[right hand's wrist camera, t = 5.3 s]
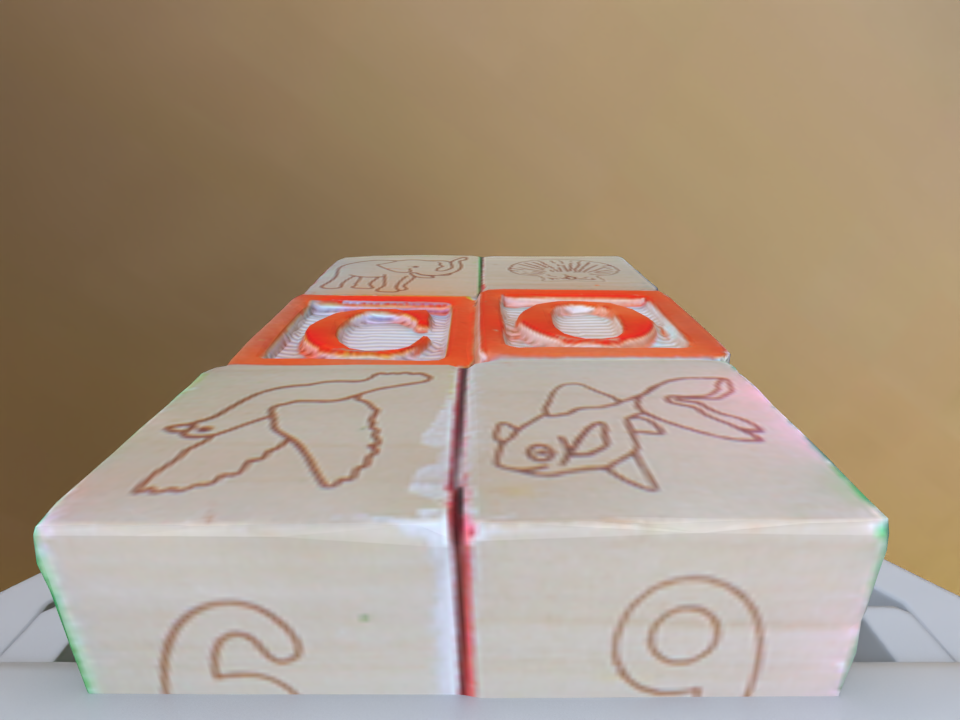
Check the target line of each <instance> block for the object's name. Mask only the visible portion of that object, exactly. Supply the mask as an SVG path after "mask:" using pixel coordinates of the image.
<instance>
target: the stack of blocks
mask: <svg viewBox="0 0 960 720" xmlns="http://www.w3.org/2000/svg"><path fill="white" fill-rule="evenodd" d="M729 361H730V353H729V352H728V351H727V350H726V349H725V348H724V346H723V345H722V344H721V343H719V342H718V341H717V340H716V339H715V338H714V337H713V336H712V335H711V334H710V333H709V332H707V331H706V330H705V329H704V328H703V327H702V326H701V325H700V324H699V323H698V322H697V321H696V320H695V319H693V318H692V317H691V316H690V315H689V314H688V313H687V312H685V311H684V310H683V309H682V308H681V307H680V306H678V305H677V304H676V303H675V302H674V301H673V300H672V299H671V298H670V297H669V296H667V295H665V294H663V293H661V292H659V291H658V289H657V287H656V286H654V285H653V284H652V283H651V282H650V281H648V280H647V279H646V278H645V277H644V276H642V275H641V274H640V272H638V271H637V270H636V269H634V268H633V267H632V266H631V265H630V264H629V263H628V262H626V261H625V260H624V259H623V258H621V257H618V256H595V257H522V256H492V257H477V256H455V255H394V256H365V257H350V258H343V259H341V260H338V261H336V262H335V263H334V264H333V265H332V266H331V267H329V268H328V269H327V270H326V271H325V272H324V273H323V274H322V275H321V276H320V277H319V278H318V279H317V280H316V281H315V283H314V284H313V285H312V286H310V288H309V289H308V290H307V291H306V292H305V293H304V294H302V295H300V296H297V297H295V298H294V299H292V300H291V301H290V302H289V303H288V304H287V305H286V306H285V307H284V308H283V309H282V310H281V311H280V312H279V313H278V314H276V315H275V316H274V317H273V318H272V319H271V320H270V322H269V323H267V324H266V325H265V326H264V327H263V328H262V329H261V330H260V331H259V332H258V333H256V334H255V335H254V336H253V337H252V338H251V339H250V340H249V341H248V342H247V343H246V344H245V345H244V346H243V347H242V349H241V350H240V351H239V352H238V353H237V354H236V355H235V356H234V357H233V358H232V359H231V360H230V362H229V363H228V365H227V366H222V367H216V368H214V369H211V370H209V371H206V372H204V373H202V374H201V375H200V376H199V377H198V378H197V379H196V380H195V381H194V382H193V383H192V384H190V385H189V386H188V387H187V388H186V389H185V390H183V391H182V392H181V393H180V394H179V395H178V396H176V397H175V398H174V399H173V400H172V401H171V402H170V403H169V404H168V405H167V406H166V407H165V408H163V409H162V410H161V411H160V412H159V413H157V414H156V415H155V416H154V417H153V418H152V419H151V420H149V421H148V422H147V423H146V424H145V425H143V426H142V427H141V428H140V429H139V430H138V431H137V432H136V433H134V434H133V435H132V436H131V437H130V438H129V439H128V440H127V441H126V442H125V443H124V444H122V445H121V446H120V447H119V448H118V449H117V450H116V451H115V452H114V453H113V454H111V455H110V456H109V457H108V458H107V459H106V460H105V461H103V462H102V463H101V464H100V465H99V466H98V467H96V468H95V469H94V470H93V471H92V472H91V473H90V474H88V475H87V476H86V477H85V478H84V479H83V480H82V481H80V482H79V483H78V484H77V485H76V486H75V487H74V488H72V489H71V490H70V491H69V492H68V493H67V494H66V495H64V496H63V497H62V498H61V499H60V500H59V501H58V502H56V504H55V505H54V506H53V507H52V508H51V509H50V510H49V512H48V513H47V514H46V515H45V516H44V517H43V518H42V520H41V521H40V522H39V523H38V524H37V525H36V526H35V529H34V534H33V538H34V546H35V554H36V561H37V565H38V567H39V569H40V571H41V573H42V576H43V578H44V580H45V582H46V584H47V586H48V588H49V590H50V593H51V595H52V598H53V601H54V603H55V606H56V609H57V612H58V614H59V617H60V620H61V623H62V625H63V628H64V631H65V634H66V636H67V639H68V642H69V645H70V647H71V650H72V652H73V655H74V658H75V660H76V663H77V666H78V668H79V671H80V674H81V676H82V679H83V682H84V684H85V687H86V689H87V692H88V693H89V694H362V695H466V696H472V697H477V698H619V697H782V696H839V693H840V691H841V689H842V686H843V684H844V681H845V679H846V676H847V674H848V672H849V669H850V667H851V664H852V662H853V659H854V657H855V655H856V651H857V644H858V638H859V632H860V626H861V620H862V618H863V616H864V614H865V612H866V610H867V607H868V604H869V601H870V598H871V595H872V592H873V589H874V585H875V582H876V579H877V576H878V573H879V570H880V568H881V565H882V562H883V559H884V556H885V553H886V551H887V544H888V537H889V526H888V518H887V517H886V516H885V515H884V514H883V513H882V512H881V511H880V510H879V509H878V508H877V507H876V506H875V505H874V504H872V503H871V502H870V501H869V500H868V499H867V498H866V497H865V496H864V495H863V494H862V493H861V492H860V491H859V490H858V489H857V488H856V486H855V485H854V484H853V483H852V482H851V481H850V480H849V479H848V478H847V477H846V476H845V475H844V474H843V473H842V472H841V471H840V470H839V469H838V468H837V467H836V466H835V465H834V464H833V463H832V462H831V461H830V460H829V459H828V458H827V457H826V456H825V455H824V454H823V453H822V452H821V451H820V450H819V449H818V448H817V447H816V446H815V445H814V444H813V443H812V442H811V441H810V440H809V439H808V438H807V437H806V436H805V435H804V434H803V433H802V432H801V431H800V430H799V429H797V428H796V427H795V426H794V425H793V424H792V423H791V422H790V421H789V420H788V419H787V418H786V417H785V416H784V415H783V414H782V413H781V412H779V411H778V410H777V409H776V408H775V407H774V406H773V405H772V404H771V403H770V402H769V400H768V399H767V398H766V397H765V396H764V395H763V394H762V393H761V392H760V391H759V390H758V389H757V388H756V387H755V386H754V385H753V384H752V383H751V382H750V381H749V380H747V379H746V378H745V377H744V376H742V375H741V374H740V373H738V371H737V370H736V368H735V367H733V366H732V365H731V364H729Z"/></svg>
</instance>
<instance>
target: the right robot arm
mask: <svg viewBox="0 0 960 720" xmlns="http://www.w3.org/2000/svg"><path fill="white" fill-rule="evenodd" d="M0 720H960V596H958V595H956V594H954V593H951V592H949V591H947V590H945V589H943V588H941V587H939V586H937V585H935V584H933V583H931V582H929V581H927V580H925V579H923V578H921V577H919V576H917V575H915V574H913V573H911V572H909V571H907V570H905V569H903V568H901V567H899V566H897V565H895V564H893V563H891V562H889V561H887V560H885V559H883V562H882V565H881V568H880V570H879V573H878V576H877V579H876V582H875V585H874V589H873V592H872V595H871V598H870V601H869V604H868V607H867V610H866V612H865V614H864V616H863V618H862V620H861V626H860V632H859V638H858V644H857V651H856V655H855V657H854V659H853V662H852V664H851V667H850V669H849V672H848V674H847V676H846V679H845V681H844V684H843V686H842V689H841V691H840V693H839V696H782V697H619V698H477V697H472V696H466V695H362V694H89V693H88V692H87V689H86V687H85V684H84V682H83V679H82V676H81V674H80V671H79V668H78V666H77V663H76V660H75V658H74V655H73V652H72V650H71V647H70V645H69V642H68V639H67V636H66V634H65V631H64V628H63V625H62V623H61V620H60V617H59V614H58V612H57V609H56V606H55V603H54V601H53V598H52V595H51V593H50V590H49V588H48V586H47V584H46V582H45V580H44V578H43V576H42V573H39V574H37V575H35V576H33V577H31V578H29V579H27V580H25V581H22V582H20V583H18V584H16V585H14V586H12V587H10V588H8V589H6V590H4V591H2V592H0Z"/></svg>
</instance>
